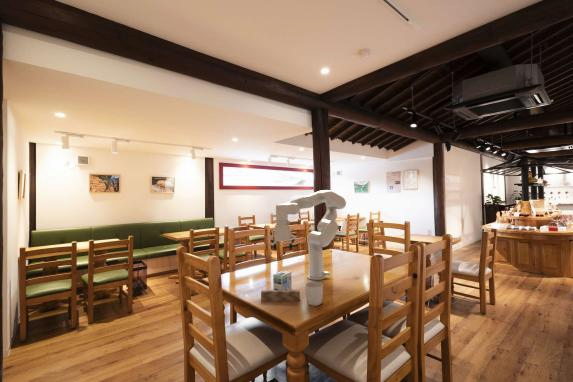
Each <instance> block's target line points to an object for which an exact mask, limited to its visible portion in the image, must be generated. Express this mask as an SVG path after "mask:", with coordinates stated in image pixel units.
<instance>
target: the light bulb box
mask: <svg viewBox="0 0 573 382" xmlns="http://www.w3.org/2000/svg"><path fill="white" fill-rule="evenodd" d="M272 275H273V276H272V278H273V279H272V281H273V282H272V283H273V290H293V288H292V287H293V285H292V283H293V282H292V271H288V270H281V271H278V272H276V273H274V274H272Z"/></svg>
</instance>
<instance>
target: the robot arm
mask: <svg viewBox="0 0 573 382" xmlns="http://www.w3.org/2000/svg"><path fill="white" fill-rule="evenodd" d="M322 203H325V208H326V211H325V214H324V215H323V217H322V218H321V219H320V220H319V222H318V224H317V227H316V229H317V231H316V230H312V231H310V232H308V234H307V236H306V239H307V240H306V241H307V245H308V265H309V266H308V269H309V272H308V273H309V274H307V275H306V277H307V279H309V280H311V281H321V280H322V281H323V280H325V279H326V277H327V276H331V272H330V271H325V270H324V259H323V258H324V253H323V252H324V250H323V248H325V247H327V246H329V245H330V244H331V243H332V240H333V239H334V238H335V237H336V235H337V233H338V231H339V223H337V222H336V221H337V218H338V213H337V210H343V209H344V208H345V207H346V205H347V202H346V199H345V198H344V197H343V196H341V195H340V194H339V193H338V194H337V193H336V192H334V191H332V190H330V189H329V190H328V189H323V190H322V189H321V190H318V191H316V192H313V193H311V194H309V195H306V196H301V197H299V198H296V199H292V200H289V201H287V202H285V203H278V204H276V205H275V220H276V221H275V223H276V225H275V227H274V234H272V235H270V236H269V237H268V239H269V240H270V242H271V243H272V244H273V249H274V251H277V242H288V243H289V251H291V250H292V249H293V243H294V242H295V240H296V238H297V236H296V235H294V234H292V233H291V227H290V224H291V221H289V217H288V216H289V215H294V216H295V215H297V214H299V213H300V211H301V210H304V209H310V208H313V207H316V206H319V205H320V204H322ZM273 238H274V239H273ZM291 238H292V239H291Z"/></svg>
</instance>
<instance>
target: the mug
mask: <svg viewBox="0 0 573 382" xmlns="http://www.w3.org/2000/svg"><path fill="white" fill-rule="evenodd" d="M305 295H306V301H307V303H308V304H309V306H314V307H315V306H320V305H321V304H322V302H323V296H324V284H323V283H322V282H320V281H308V282H306V283H305Z"/></svg>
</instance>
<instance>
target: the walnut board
mask: <svg viewBox="0 0 573 382" xmlns="http://www.w3.org/2000/svg"><path fill="white" fill-rule="evenodd" d="M260 301H261V302H300V301H301V293H300V290H299V289H298V290H297V289H296V290H295V289H294V290H293V289H292V290H274V289H273V290H269V289H268V290H267V289H265V290H260Z"/></svg>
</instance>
